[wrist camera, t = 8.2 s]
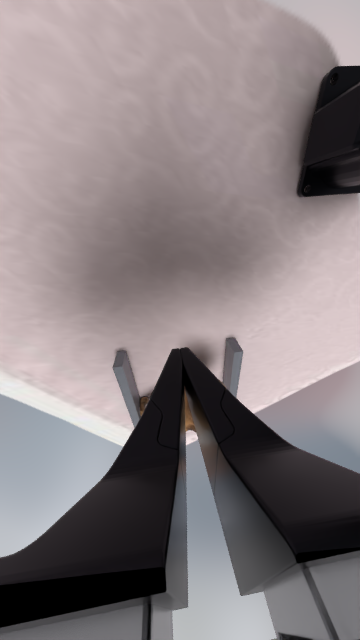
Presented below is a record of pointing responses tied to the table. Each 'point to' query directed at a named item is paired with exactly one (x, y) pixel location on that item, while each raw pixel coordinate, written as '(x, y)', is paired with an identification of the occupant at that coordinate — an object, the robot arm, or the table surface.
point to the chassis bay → (131, 393)
